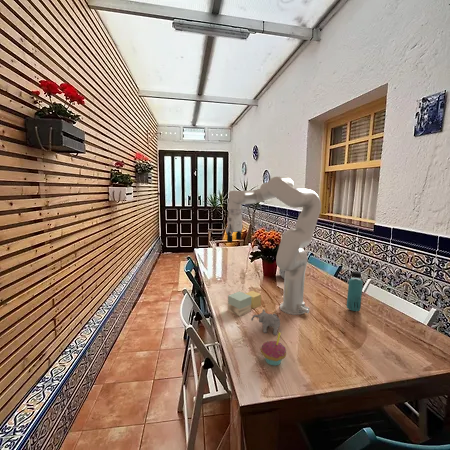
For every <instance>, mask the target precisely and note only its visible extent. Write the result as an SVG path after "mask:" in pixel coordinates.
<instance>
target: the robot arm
mask: <svg viewBox="0 0 450 450" xmlns="http://www.w3.org/2000/svg"><path fill="white" fill-rule="evenodd" d="M274 198H275V199H277V200H279V201H280V202H282V203H283V204H285V205H286V206H287V207H290V208H294V209H298V208H302V209H301V211H300V213H299V215H298V217H297V220H296V224H295V225H294V226H295V227H293V228H290V229H288V230H286V231H285V232H284V233H283V235H282V237H281V240H280V243H279V246H278V249H277V254H276V256H275V257H276V258H275V259H276V262H275V263H276V266H277V267H278V269H279V268H280V269H281V270H283V271H285V278H284V281H283V282H284V283H283V299H282V301H283V302H282V303H280V305H279V309H280V311H281V312H283V313H284V314H287V315H291V316H299V315H304V314H305V313H306V314H309V313H310V307H309V306H306V302H305V301H304V292H305V277H306V276H305V275H306V270H307V266H308V253H307V252H306V251H305V249H303V248H305V247H307V246H309V245H310V244H311V241H312V239H313V236H314V232H315V229H316V226H317V222H318V220H319V217H320V214H321V210H322V201H321V199H320V197H319V195H318V193H316V192H315V191H314V190H312V189H308V188H295V184H294V181H293V180H292V179H291V178H290V177H287V176H273V177H271V178H270V179H269V180H268V181H267V182H264V183H262V184H261V185H260V187H259V188H257V189H253V190H230V191H229V192H228V208H227V209H228V210H227V211H228V214H227V216H228V217H227V227H225V233H226V236H227V239H226V242H227V243H233V233H235V234H236V235H235V237H236V238H235V240H239V241H240V240H242V232H243V227H244V224H243V216H242V205H250V204H251V205H253V204H257V203H261V202H265V201H267V200H270V199H274Z"/></svg>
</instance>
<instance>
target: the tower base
mask: <svg viewBox="0 0 450 450" xmlns="http://www.w3.org/2000/svg"><path fill="white" fill-rule="evenodd" d="M251 311H252V308H251V305H248V306H246V307H244V308H241V309H238V308H236V307H234V306H232V305H230V304H228V303H227V312H229V313H231V314H234V315H235V316H237V317H242V316H245V315H246V314H248V313H250V312H251Z"/></svg>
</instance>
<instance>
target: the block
mask: <svg viewBox="0 0 450 450" xmlns="http://www.w3.org/2000/svg"><path fill="white" fill-rule="evenodd" d="M245 294H247V295H250V296H252V297H251V310H252V309H253V310H254V309H256V308H258V307H260V306H261V305H262V294H261V293H259V292H257V291H254V290H252V291H251V290H250V291H248V292H245Z"/></svg>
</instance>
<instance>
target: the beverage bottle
mask: <svg viewBox="0 0 450 450" xmlns="http://www.w3.org/2000/svg"><path fill="white" fill-rule="evenodd" d="M361 277H362V273H361V272H360V271H352V272H351V278H350V279H348V284H347V285H348V286H347V287H348V288H347V296H346V297H347V299H346V309H348V310H350V311H354V312H359V311H360V310H361V309H362V296H363V280H362V279H361Z"/></svg>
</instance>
